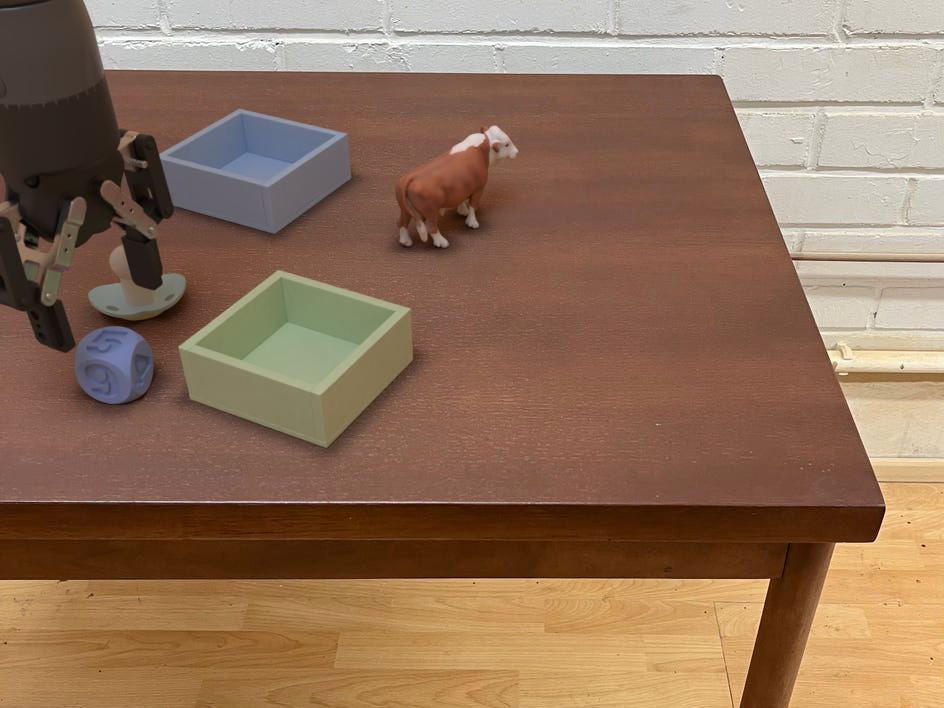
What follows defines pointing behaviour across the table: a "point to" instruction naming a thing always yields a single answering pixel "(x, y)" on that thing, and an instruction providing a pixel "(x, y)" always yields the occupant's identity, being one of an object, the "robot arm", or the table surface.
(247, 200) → the bluegrey bin
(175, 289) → the pacifier
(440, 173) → the bull figurine
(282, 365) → the sage bin
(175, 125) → the table surface
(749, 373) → the table surface
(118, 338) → the decorative dice
